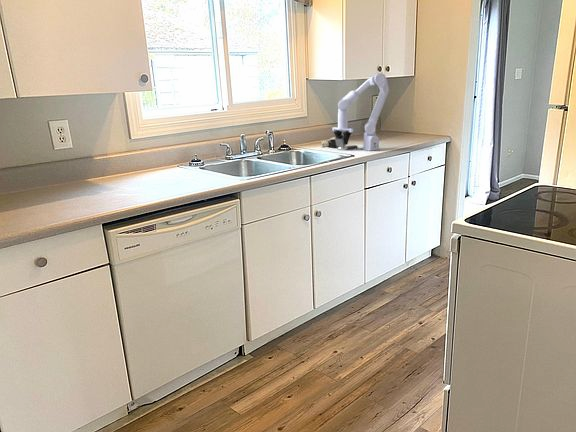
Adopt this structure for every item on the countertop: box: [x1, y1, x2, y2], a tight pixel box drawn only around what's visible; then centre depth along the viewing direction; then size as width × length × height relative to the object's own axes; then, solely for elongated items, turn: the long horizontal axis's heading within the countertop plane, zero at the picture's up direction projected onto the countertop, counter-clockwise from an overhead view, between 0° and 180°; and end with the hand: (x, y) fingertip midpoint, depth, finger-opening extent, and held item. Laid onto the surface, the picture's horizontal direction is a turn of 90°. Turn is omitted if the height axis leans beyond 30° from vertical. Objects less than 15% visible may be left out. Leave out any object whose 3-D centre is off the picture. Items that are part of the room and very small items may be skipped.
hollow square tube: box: [335, 135, 347, 147], centre depth 279 cm, size 5×5×5 cm
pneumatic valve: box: [321, 136, 339, 149], centre depth 292 cm, size 6×12×12 cm
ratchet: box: [336, 144, 358, 151], centre depth 282 cm, size 13×6×4 cm, turn 118°
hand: (342, 143), depth 280 cm, fingers closed on hollow square tube, 5 cm apart
